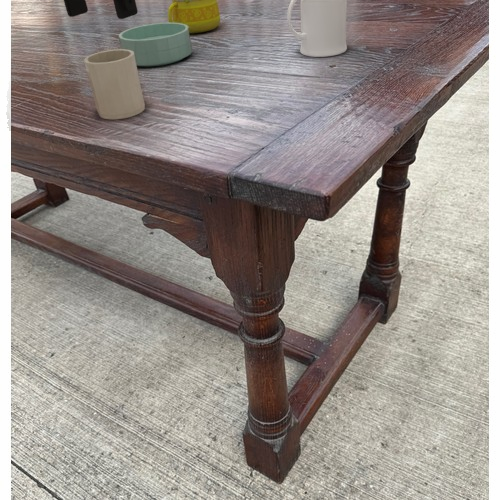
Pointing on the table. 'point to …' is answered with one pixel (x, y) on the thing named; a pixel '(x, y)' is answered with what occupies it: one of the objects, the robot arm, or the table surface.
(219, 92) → the table surface
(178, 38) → the bowl
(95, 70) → the cup
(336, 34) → the mug
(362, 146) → the table surface
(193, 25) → the mug
